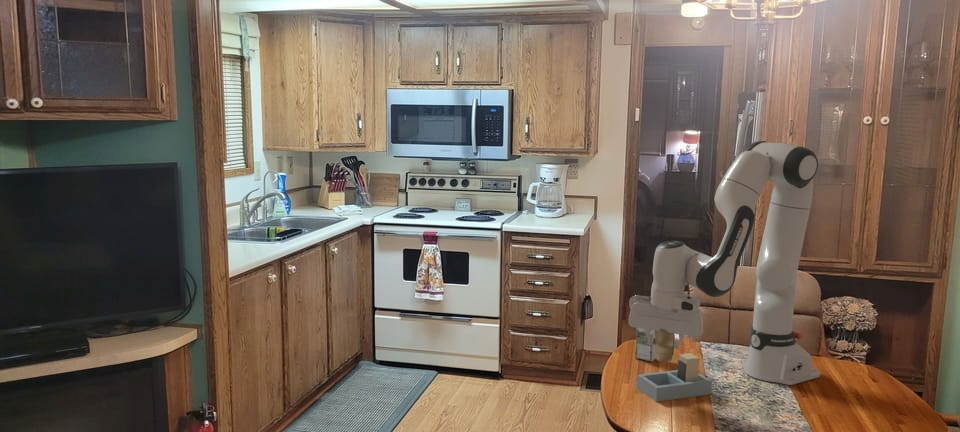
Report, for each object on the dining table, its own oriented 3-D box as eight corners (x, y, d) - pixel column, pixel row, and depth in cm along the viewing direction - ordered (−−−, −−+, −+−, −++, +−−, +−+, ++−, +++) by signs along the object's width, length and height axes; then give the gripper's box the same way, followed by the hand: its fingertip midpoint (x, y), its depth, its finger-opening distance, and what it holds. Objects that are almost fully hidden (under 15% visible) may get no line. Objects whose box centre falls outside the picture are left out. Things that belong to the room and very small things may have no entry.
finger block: (667, 355, 195) (670, 325, 194) (673, 360, 191) (675, 330, 190) (653, 355, 195) (655, 325, 193) (658, 361, 191) (660, 330, 189)
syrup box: (657, 357, 223) (659, 314, 221) (651, 362, 218) (653, 318, 216) (640, 353, 226) (642, 311, 224) (634, 358, 221) (636, 315, 219)
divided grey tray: (689, 381, 203) (691, 349, 202) (710, 394, 194) (713, 360, 192) (636, 387, 198) (638, 355, 196) (656, 401, 188) (657, 367, 187)
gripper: (627, 296, 191) (624, 343, 194) (703, 306, 183) (699, 355, 186) (632, 291, 197) (629, 337, 199) (705, 300, 189) (702, 348, 191)
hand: (663, 346), depth 192 cm, fingers closed on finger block, 6 cm apart
